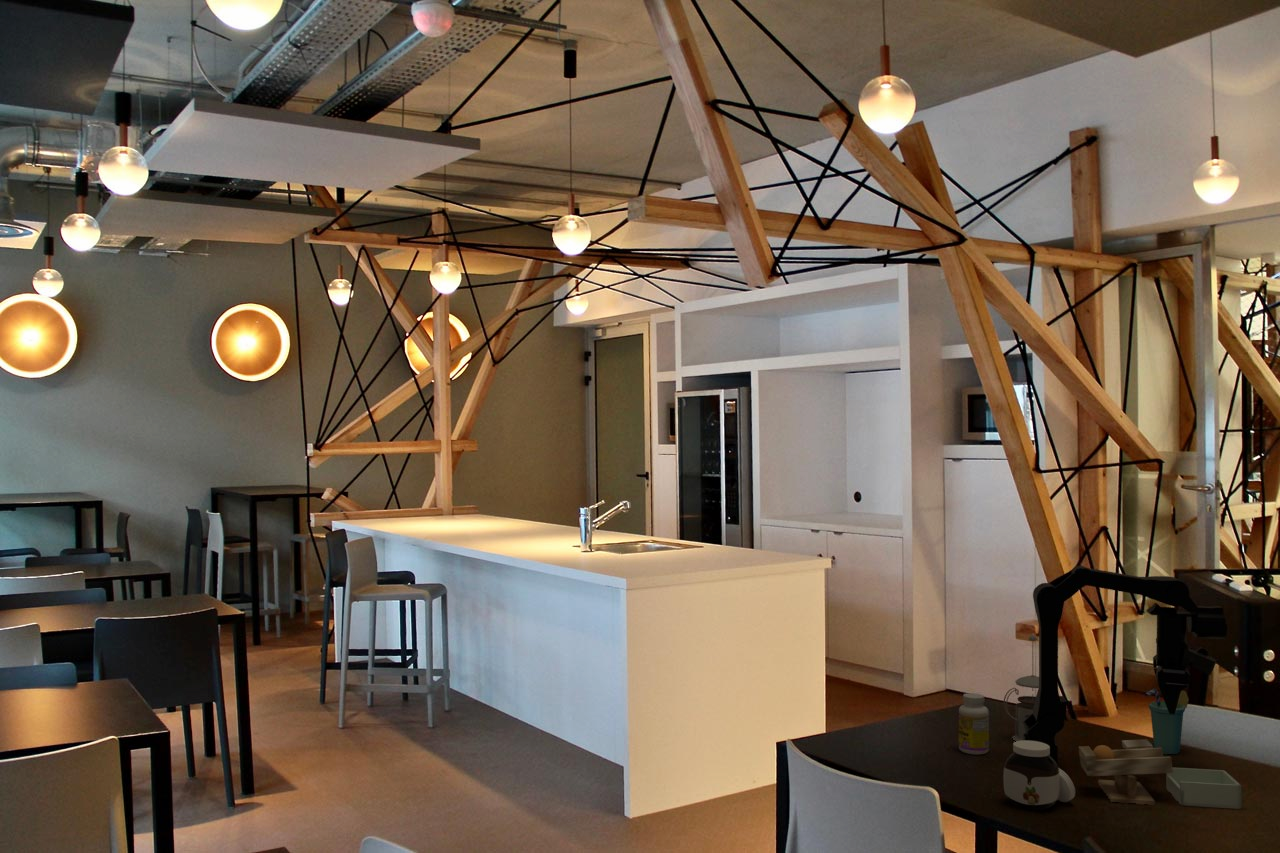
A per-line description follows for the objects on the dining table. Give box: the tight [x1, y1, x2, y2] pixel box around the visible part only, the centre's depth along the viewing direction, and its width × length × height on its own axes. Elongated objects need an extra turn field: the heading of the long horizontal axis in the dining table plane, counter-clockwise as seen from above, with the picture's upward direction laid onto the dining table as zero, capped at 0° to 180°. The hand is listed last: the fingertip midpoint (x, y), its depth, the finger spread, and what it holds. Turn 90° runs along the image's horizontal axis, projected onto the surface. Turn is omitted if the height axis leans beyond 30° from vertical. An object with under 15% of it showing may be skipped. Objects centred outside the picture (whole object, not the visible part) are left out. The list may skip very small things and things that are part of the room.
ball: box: [1092, 744, 1114, 760], centre depth 221 cm, size 4×4×4 cm
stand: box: [1097, 774, 1156, 806], centre depth 220 cm, size 8×12×5 cm, turn 169°
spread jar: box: [1003, 740, 1076, 811], centre depth 215 cm, size 12×11×12 cm
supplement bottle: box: [958, 692, 990, 756], centre depth 250 cm, size 7×7×13 cm
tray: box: [1165, 766, 1243, 810], centre depth 218 cm, size 11×10×4 cm
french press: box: [1003, 635, 1039, 742], centre depth 259 cm, size 10×12×25 cm
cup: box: [1144, 688, 1190, 755], centre depth 250 cm, size 14×8×15 cm, turn 122°
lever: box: [1078, 738, 1173, 777], centre depth 225 cm, size 16×17×4 cm
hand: (1170, 708), depth 234 cm, fingers open, 9 cm apart
